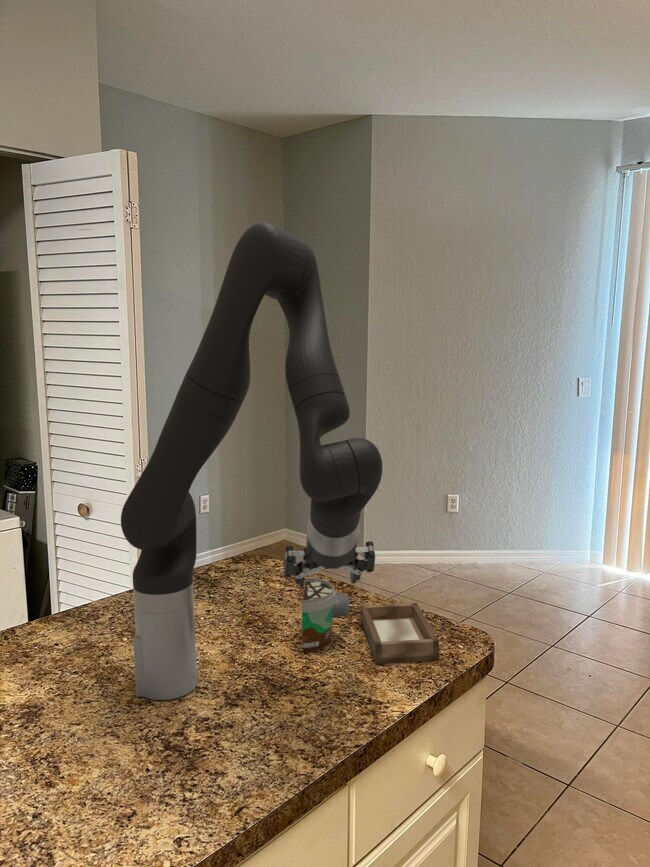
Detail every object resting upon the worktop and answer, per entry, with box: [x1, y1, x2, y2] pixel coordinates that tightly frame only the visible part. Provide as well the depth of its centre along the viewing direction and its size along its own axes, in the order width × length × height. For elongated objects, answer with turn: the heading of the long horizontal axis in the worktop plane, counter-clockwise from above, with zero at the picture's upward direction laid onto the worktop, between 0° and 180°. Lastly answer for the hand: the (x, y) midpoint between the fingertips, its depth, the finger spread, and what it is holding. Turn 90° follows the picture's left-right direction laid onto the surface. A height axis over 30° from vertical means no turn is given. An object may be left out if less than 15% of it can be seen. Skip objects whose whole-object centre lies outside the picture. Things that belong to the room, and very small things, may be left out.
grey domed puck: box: [332, 591, 350, 618], centre depth 141 cm, size 6×6×3 cm
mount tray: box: [360, 602, 440, 665], centre depth 127 cm, size 11×17×4 cm, turn 5°
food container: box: [301, 577, 337, 653], centre depth 127 cm, size 12×6×10 cm, turn 179°
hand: (326, 580), depth 114 cm, fingers open, 8 cm apart
